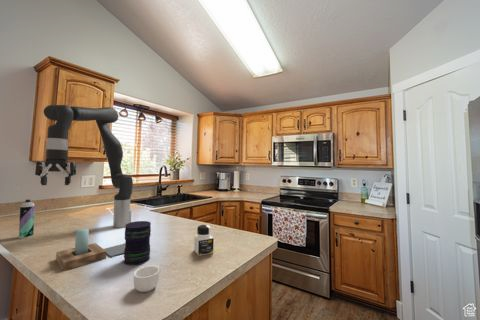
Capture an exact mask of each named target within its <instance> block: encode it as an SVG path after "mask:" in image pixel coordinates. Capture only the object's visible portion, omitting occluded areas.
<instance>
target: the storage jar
mask: <svg viewBox="0 0 480 320" xmlns="http://www.w3.org/2000/svg"><path fill="white" fill-rule="evenodd" d="M151 224H152V223H151V221H146V220H137V221H133V222H132V221H131V223H128V224H126V225H125V227H124V228H125V229H124V240H125V242H124V243H125V249H124V254H123V258H124V261H123V263H124V265H126V266H139V265H143V264H145V263H147V262H148V261H149V260H150V259H151V256H150V255H151V244H150V242H151V241H150V240H151V239H150V238H151V235H152V234H151V231H152V230H151V229H152V227H151Z"/></svg>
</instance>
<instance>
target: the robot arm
mask: <svg viewBox="0 0 480 320" xmlns="http://www.w3.org/2000/svg"><path fill="white" fill-rule="evenodd" d="M44 107H45V106H44ZM43 114H44V116H45V117H46V119H48V120H50V121H56V122H55V123H54V124H51V125H50V126H48V127H47V138H46V145H45V161H36V163H35V171H34V175H35V176H39V177H40V185H41V186H47V184H48V175H49V174H50V173H51V172H58V173H59V172H60V173H62V174H63V175H64V176H65V177H64V186H69V185H70V184H71V181H72V179H71V177H73V176H76V175H77V163H76V162H75V161H71V162H68V159H69V130H70V128H71V125H72V123H73V121H74V122H88V121H91V122H92V121H95V122H96V125H97V128H98V130H99V132H100V133H99V134H100V136H101V140H102V144H103V146H104V147H103V148H104V151H105V156H106V159H107V164H108V167H109V171H110V173H109V174H110V180H111V184H112V186H113V187H114V188H116V189H118V193H116V194H115V195H114V196H113V225H112V226H113V228H115V229H117V228H118V229H120V228H125V225H126V224H128V223H131V222H132V210H131V196H132V195H133V185H134V184H133V183H134V180H133V177H132V176H131V175H130V174H126V173H125V174H124V173H123V171H122V161H123V157H124V151H123V147H122V144H121V142H120V140H119V139H118V138H117V137H116V136H115V134H113V133H112V131H111V129H110V126H109V124H112V123H113V124H114V123H116V122H117V121H118V120H119V113H118V111H117V110H116V109H115V108H113V107H112V106H111V107H110V106H109V107H107V106H106V107H105V106H104V107H98V108H93V107H83V106H74V105H73V106H69V105H66V104H50V105H47V106H46V107H45V108H44V109H43ZM44 167H45V168H44ZM68 167H69V169H68ZM43 168H44V169H43Z"/></svg>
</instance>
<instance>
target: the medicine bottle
mask: <svg viewBox="0 0 480 320" xmlns="http://www.w3.org/2000/svg"><path fill="white" fill-rule="evenodd" d="M211 228H212V227H211V225H209V224H200V225H198V226H197V231H196V232H197V234H195V235H193V236H194V238H193V239H194V240H193V241H194V244H193V245H194V246H193V247H194V248H193V250H194V252H195V253H196V255H197V256H199V257H200V256H205V255H210V254H214V237H213V236H212V235H211V233H212V232H211Z"/></svg>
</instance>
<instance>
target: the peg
mask: <svg viewBox="0 0 480 320" xmlns="http://www.w3.org/2000/svg"><path fill="white" fill-rule="evenodd" d="M89 234H90V229H89V228H80V229H76V230H75V240H74V241H75V245H74V248H75V256H77V255H81V254H85V253H88V245H89V240H90V239H89V237H90V235H89Z"/></svg>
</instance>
